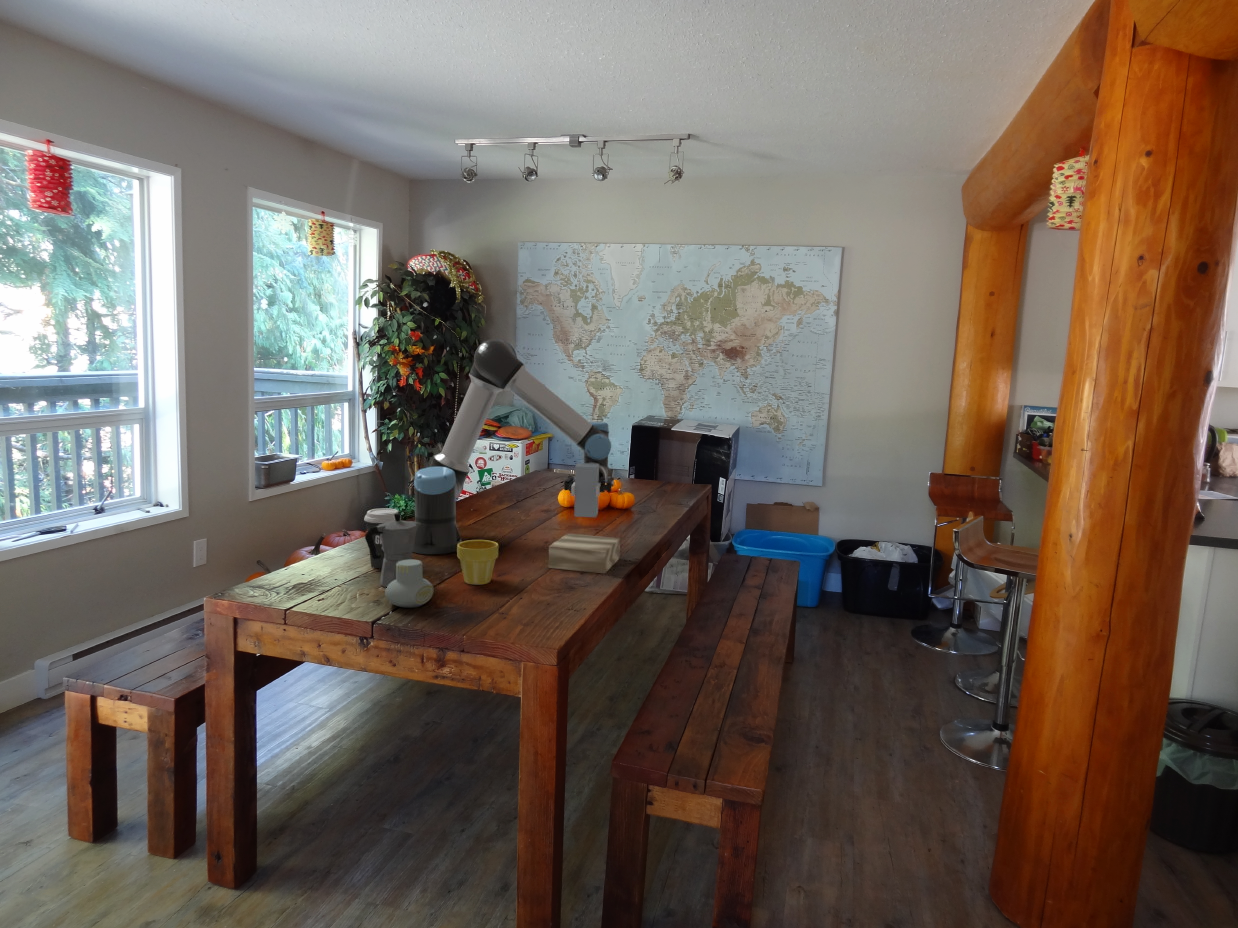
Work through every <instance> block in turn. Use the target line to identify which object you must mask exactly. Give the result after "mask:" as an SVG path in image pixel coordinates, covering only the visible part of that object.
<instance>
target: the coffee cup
mask: <svg viewBox="0 0 1238 928" xmlns="http://www.w3.org/2000/svg"><path fill="white" fill-rule="evenodd" d="M396 513H399V510H397V509H395V508H388V507H387V508H384V507H383V508H381V507H380V508H373V509H370V510H368V511H367V512H366V514H365V516H364V519H363V520H364V522H365V524H366V532H367V531H368V530H369V528H370V527H374V526H379V525H380V524H383V523H386V522H390V521H395V516H394V514H396ZM401 519H402V516H401V517H400V520H401ZM372 538H373V541H374V546H375V548H376V554H377V555H381V558H380V559H373V558H372V555H371V552H370V550H369V560H370V561H369V562H370V567H371V568H373V567H374V568H373V569H377V568H379V569H378V570H380V569H381V570H382V565H383V559H384V551H383V548H382V542H381V536H380V534H373V535H372Z"/></svg>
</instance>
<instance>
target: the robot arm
mask: <svg viewBox="0 0 1238 928" xmlns="http://www.w3.org/2000/svg"><path fill="white" fill-rule="evenodd" d="M517 355H518V354H517V352H516V350H515V348H514V347H513V346H512V345H511V344H510V343H508V342H506V341H505V340H502V339H497V338H495V339H488V340H485V341H483V342H482V343H480V344H479V346H478V347H477V348H476V350H475V352H474V356H473V363H472V366H471V369H470V371H469V373H468V376H469V378H470V384H469V386H468V389H467V391H466V393H465V395H464V398H463V401H462V402H461V404H460V407H459V409H458V410H459V411H458V412H457V415H456V417H455V419H454V422H453V424H452V426H451V429H450V430H449V433H448V436H447V438H446V440H445V443H444V444H443V445H444V446H443V447H442V450H441V452H440V453H438V454H435V455H433V458H432V461H431V462H430V465H429V466H427V467H425V468H421V469H418V470H417V472H415V474H414V481H413V485H414V522H419V523H421V525H420V526H419V527H418V529H417V531H416V535H415V542H414V549H413V551H412V553H416V554H419V555H445V554H451V553H455V552H457V545H458V544H459V543H460V542H463V541H462V537H461V534H460V532H459V528H458V525H457V522H456V500H457V498H458V497H459V496H460V495H461V494H462V492H463V491H464V490H463V489H464V484H465V482H466V479H467V477H468V475H469V473H470V468H469V467H470V466H469V465H468V463H469V460H470V458H471V455H472V453H473V451H474V448H475V446H476V444H477V443H478V442H477V441H478V440H479V437H480V435H481V432H482V430H483V428H484V426H485V423H486V421H487V419H488V416H489V414H490V412H491V409H492V407H493V405H494V403H495V400H496V398H497V395H498V394H499V393H501V392H503V391H509V392H511V393H512V394H513V395H515V397H517V398H518V399H519V400H521V401H522V402H523V403H524V404H525V405H526V406H528V408H531V409H532V410H533V411H534V412H535V413H537V414H538V415H539V416H540V417H541V418H543V419H544V420H546V422H548V423H549V424H551V426H553V427H554V428H556V430H557V431H559V432H560V433H561V434H563V435H564V436H565V437H566V438H567V439H569V440H570V441H572V442H573V443H574V444H576V446H577V447H579V448H580V449H581V450H583V451H584V452H583V453H584V455H583V463H589V464H599V483H598V484H597V486H596V497H598V498H599V496H600V494H601V493H605V492H608V493H611V492H612V488H613V487H614V486H615V485H614V484H615V481H614V480H615V479H614V477H608V476H609V474H610V473H609V471H610V470H609V469H610V468H609V455H610V453H611V449H612V442H611V440H610V436H609V435H610V434H609V433H610V430H609V429H610V428H609V424H608V422H604V421H589V420H587V419H586V418H584V416H582V415H581V414H580V413H579V412H577V411H576V410H575V409H574V408H572V407H571V406H570V405H569V404H568V403H566V402H565V401H564V400H563V399H562V398H560V397H559V396H558V395H557V394H555V393H554V392H553V391H552V390H550V389H549V388H548V387H547V386H546V385H544V384H543V382H541V381H539V379H537V378H536V377H535V376H534V375H532V374H531V373H530V372H529V371H527V369H526V365H525V363H523V362H522V361H521V360H520V359H519V358H518V357H517ZM563 490H564V491H569V494H570V495H571V496H570V497H575V476H572V475H567V478H565V480H564V483H563Z"/></svg>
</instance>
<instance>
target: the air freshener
mask: <svg viewBox="0 0 1238 928" xmlns="http://www.w3.org/2000/svg"><path fill="white" fill-rule="evenodd" d="M423 577H424V576H423V562H422V561H421V560H419V559H409V560H402V561H399V562H398V563H397V564H396V580H394V581H392V582H391V583H390V584H389V585H388V586H387V588H386V587H385V591H384V596H385V598H386V599H387V601H388V602H389V603H391V604H392V605H393V606H396V607H400V608H408V609H409V608H419V607H422V606H423V605H424V604H426V603H427V602H429V601H430V599H431V598H432V597H433V594H434V589H435V588H434V585H433V584H432V583H431V582H430V581H429V580H428V579H426V578H423Z"/></svg>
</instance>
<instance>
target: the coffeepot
mask: <svg viewBox="0 0 1238 928" xmlns="http://www.w3.org/2000/svg"><path fill="white" fill-rule="evenodd" d="M394 516H395V521H390V522H386V523H383V524H380V525H379V526H374V527H370V528H369V530H368V531H367V530H366V532H365V534H364V540H365V542H366V544H367V548H368V549H369V550H370V552H371V555H372V558H373V559H380V558H381V555H377V554H376V548H375V546H374V541H373V538H372V535H373V534H380V536H381V542H382V548H383V551H384V559H383V565H382V569H381V571H380V578H379V579H380V580H379V583H380V586H381V585H382V586H381V587H383V588H386V587H387V586H388V585H389V584H390V583H391V582H392V581H394V580H396V564H397V563H398V562H399V561H402V560H409V559H413V552H412V551H413V549H414V542H415V535H416V531H417V529H418V527H419V526H420V525H421V523H419V522H415V521H411V520H408V521H407V520H401V519H400V517H401V518H402V514H401V513H399V512H398V513H396V514H394ZM370 552H369V553H370ZM413 560H414V559H413Z"/></svg>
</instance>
